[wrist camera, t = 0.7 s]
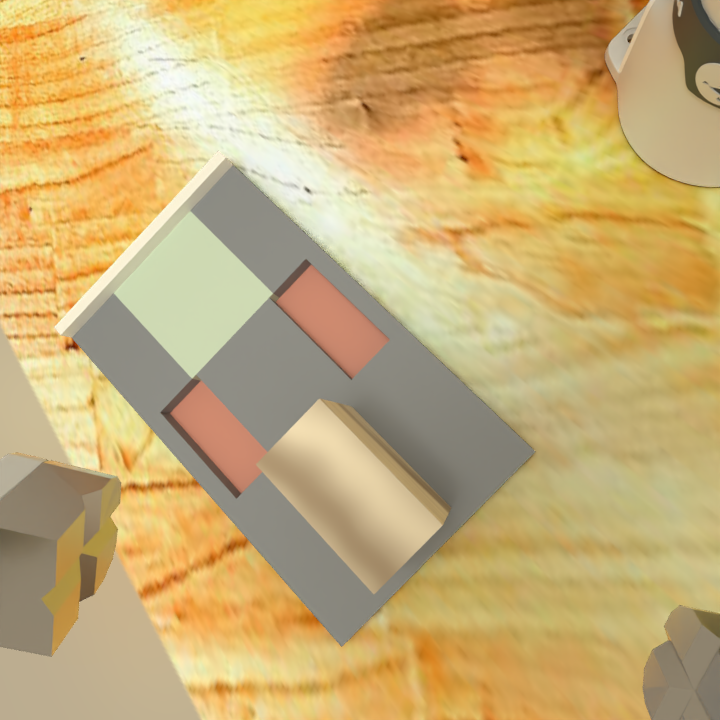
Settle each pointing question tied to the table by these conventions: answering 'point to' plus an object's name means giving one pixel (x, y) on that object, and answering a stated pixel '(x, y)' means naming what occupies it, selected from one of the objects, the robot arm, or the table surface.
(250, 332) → the trap runway
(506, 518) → the table surface
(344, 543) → the maple block
